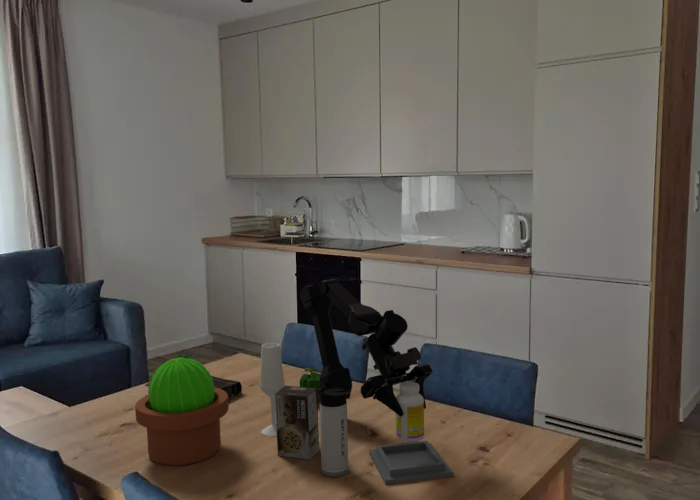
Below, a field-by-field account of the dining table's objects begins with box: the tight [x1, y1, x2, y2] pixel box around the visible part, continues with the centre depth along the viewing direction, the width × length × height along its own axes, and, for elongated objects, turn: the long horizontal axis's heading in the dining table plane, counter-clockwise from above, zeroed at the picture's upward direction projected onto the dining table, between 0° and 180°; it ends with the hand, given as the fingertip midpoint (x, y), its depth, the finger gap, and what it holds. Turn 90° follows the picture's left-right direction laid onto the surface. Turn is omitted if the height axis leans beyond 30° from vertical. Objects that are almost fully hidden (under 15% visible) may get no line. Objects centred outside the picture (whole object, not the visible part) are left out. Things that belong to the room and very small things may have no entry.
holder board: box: [368, 440, 454, 485], centre depth 148 cm, size 16×16×2 cm
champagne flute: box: [259, 342, 286, 437], centre depth 168 cm, size 7×7×24 cm
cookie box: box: [275, 385, 320, 460], centre depth 155 cm, size 9×6×16 cm
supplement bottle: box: [395, 381, 425, 443], centre depth 147 cm, size 7×7×13 cm
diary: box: [144, 375, 243, 399], centre depth 199 cm, size 19×25×5 cm
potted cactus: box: [134, 354, 229, 466], centre depth 157 cm, size 22×22×25 cm
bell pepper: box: [299, 367, 321, 403], centre depth 192 cm, size 8×8×10 cm
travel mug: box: [318, 387, 349, 478], centre depth 144 cm, size 6×7×20 cm
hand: (413, 412), depth 145 cm, fingers closed on supplement bottle, 7 cm apart
